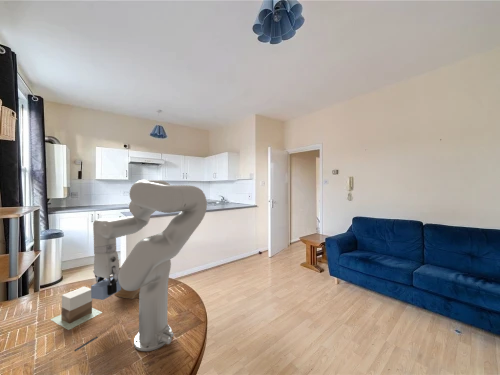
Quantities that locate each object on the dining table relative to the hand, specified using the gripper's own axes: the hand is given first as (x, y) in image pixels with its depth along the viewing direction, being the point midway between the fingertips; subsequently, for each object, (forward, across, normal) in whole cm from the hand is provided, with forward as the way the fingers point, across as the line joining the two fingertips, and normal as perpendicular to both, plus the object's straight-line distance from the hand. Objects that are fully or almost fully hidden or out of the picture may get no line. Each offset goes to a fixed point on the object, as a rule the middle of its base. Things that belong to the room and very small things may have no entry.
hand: (106, 291), depth 84 cm
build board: (+12, +14, +4) cm, 19 cm away
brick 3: (+1, 0, 0) cm, 1 cm away
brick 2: (+11, +14, +4) cm, 18 cm away
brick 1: (+6, +13, +4) cm, 15 cm away
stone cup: (+12, +11, -17) cm, 23 cm away
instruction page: (+12, -1, +10) cm, 16 cm away
